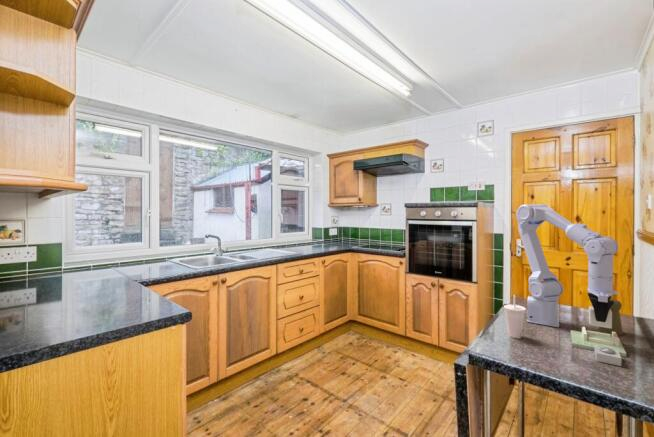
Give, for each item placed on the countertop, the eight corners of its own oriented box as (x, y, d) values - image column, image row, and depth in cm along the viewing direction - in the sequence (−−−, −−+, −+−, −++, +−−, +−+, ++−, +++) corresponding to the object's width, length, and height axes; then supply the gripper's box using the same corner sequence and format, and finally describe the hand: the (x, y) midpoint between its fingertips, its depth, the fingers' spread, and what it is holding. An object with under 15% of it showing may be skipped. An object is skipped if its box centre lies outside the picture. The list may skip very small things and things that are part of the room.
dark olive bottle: (616, 329, 106) (617, 297, 106) (627, 336, 100) (627, 302, 100) (595, 327, 108) (595, 296, 108) (604, 333, 102) (604, 301, 102)
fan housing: (596, 361, 85) (596, 351, 85) (594, 352, 90) (594, 343, 90) (621, 366, 82) (621, 356, 82) (617, 357, 87) (617, 347, 87)
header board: (572, 346, 94) (572, 335, 94) (570, 332, 104) (570, 323, 103) (626, 357, 87) (626, 345, 87) (619, 341, 96) (619, 331, 96)
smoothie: (501, 336, 102) (501, 294, 101) (506, 330, 107) (506, 290, 106) (523, 341, 98) (524, 298, 97) (527, 335, 102) (528, 293, 102)
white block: (590, 325, 96) (590, 308, 96) (588, 321, 99) (589, 304, 99) (611, 328, 93) (612, 311, 93) (609, 324, 96) (610, 307, 96)
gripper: (622, 282, 87) (621, 329, 88) (614, 273, 99) (613, 314, 99) (589, 279, 91) (589, 324, 92) (585, 270, 103) (585, 310, 104)
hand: (599, 319), depth 96 cm, fingers closed on white block, 4 cm apart
